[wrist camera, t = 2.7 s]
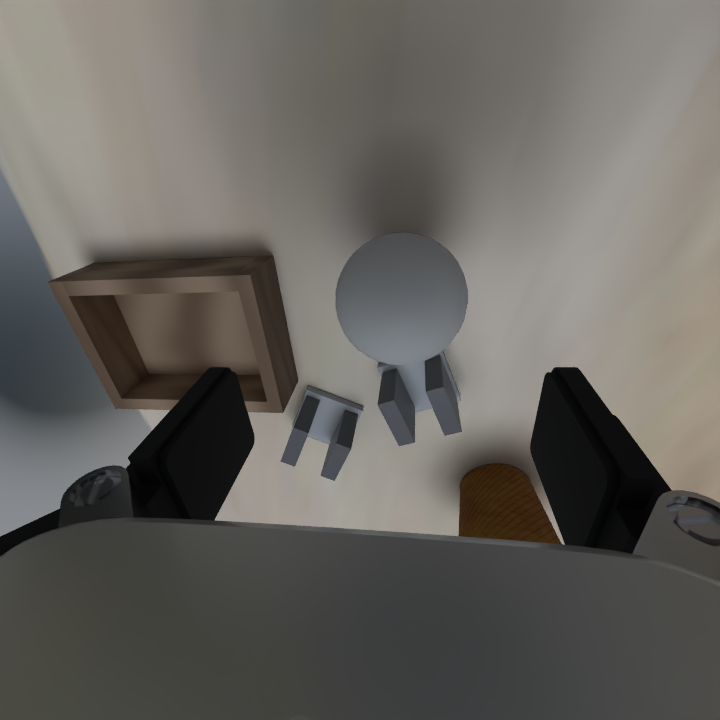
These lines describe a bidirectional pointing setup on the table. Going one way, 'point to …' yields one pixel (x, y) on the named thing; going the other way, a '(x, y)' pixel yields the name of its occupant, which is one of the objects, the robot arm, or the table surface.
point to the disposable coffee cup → (502, 506)
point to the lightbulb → (401, 298)
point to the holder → (181, 328)
